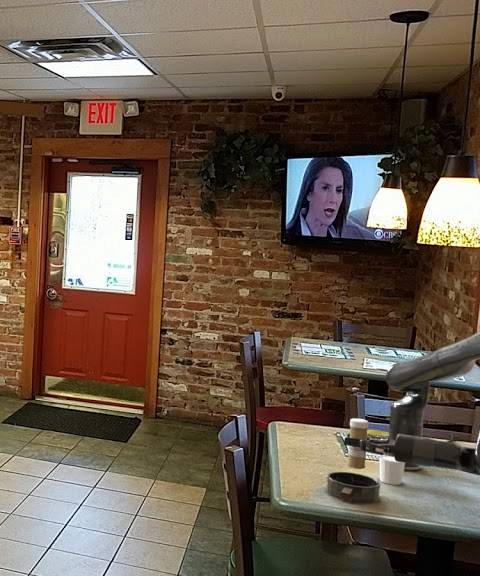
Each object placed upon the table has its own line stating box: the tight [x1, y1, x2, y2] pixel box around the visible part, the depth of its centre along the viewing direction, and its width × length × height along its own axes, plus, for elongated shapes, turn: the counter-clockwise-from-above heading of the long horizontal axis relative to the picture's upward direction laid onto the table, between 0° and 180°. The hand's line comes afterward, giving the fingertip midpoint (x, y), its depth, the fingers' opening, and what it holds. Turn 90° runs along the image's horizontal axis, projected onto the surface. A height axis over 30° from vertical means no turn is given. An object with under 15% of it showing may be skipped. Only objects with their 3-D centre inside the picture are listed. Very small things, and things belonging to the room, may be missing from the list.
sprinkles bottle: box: [347, 418, 369, 470], centre depth 214 cm, size 5×5×14 cm
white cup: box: [378, 455, 405, 486], centre depth 229 cm, size 7×7×7 cm
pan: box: [325, 471, 381, 504], centre depth 216 cm, size 13×13×4 cm
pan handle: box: [340, 487, 354, 504], centre depth 208 cm, size 6×2×4 cm, turn 144°
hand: (346, 439), depth 216 cm, fingers closed on sprinkles bottle, 4 cm apart
